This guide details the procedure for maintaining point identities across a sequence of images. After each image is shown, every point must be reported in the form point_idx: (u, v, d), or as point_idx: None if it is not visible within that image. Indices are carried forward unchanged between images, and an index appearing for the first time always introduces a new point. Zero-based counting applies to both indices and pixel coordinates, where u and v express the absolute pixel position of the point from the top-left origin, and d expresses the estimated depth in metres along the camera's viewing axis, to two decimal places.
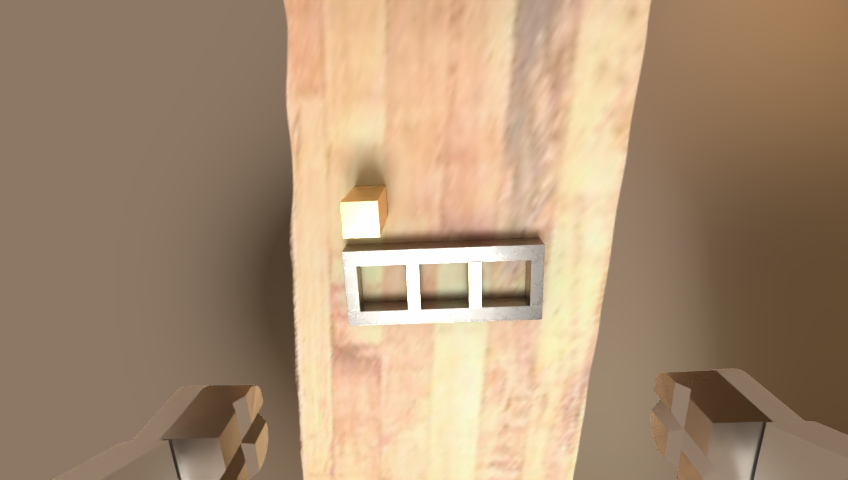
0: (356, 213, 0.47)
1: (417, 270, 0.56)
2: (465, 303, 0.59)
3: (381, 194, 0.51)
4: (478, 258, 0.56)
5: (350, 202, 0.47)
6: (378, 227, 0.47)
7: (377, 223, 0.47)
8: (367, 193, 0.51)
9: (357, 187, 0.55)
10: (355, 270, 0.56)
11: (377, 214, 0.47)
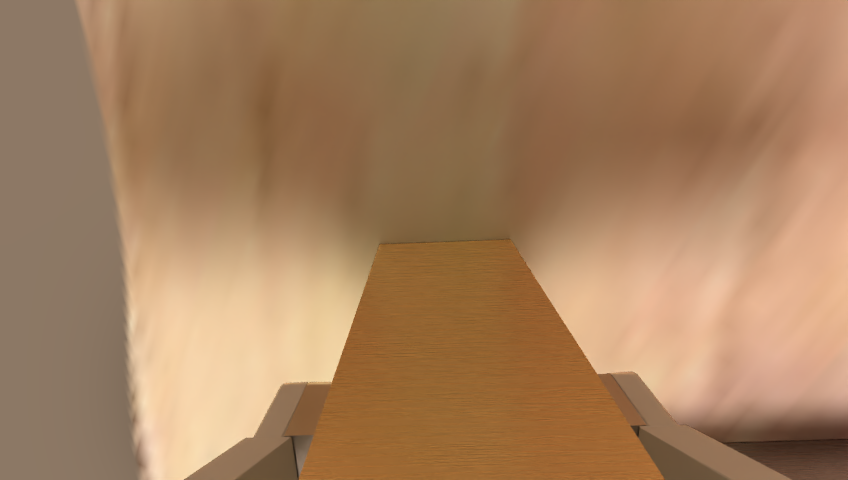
0: None
1: None
2: None
3: None
4: None
5: None
6: None
7: None
8: (473, 323, 0.08)
9: (393, 253, 0.12)
10: None
11: None
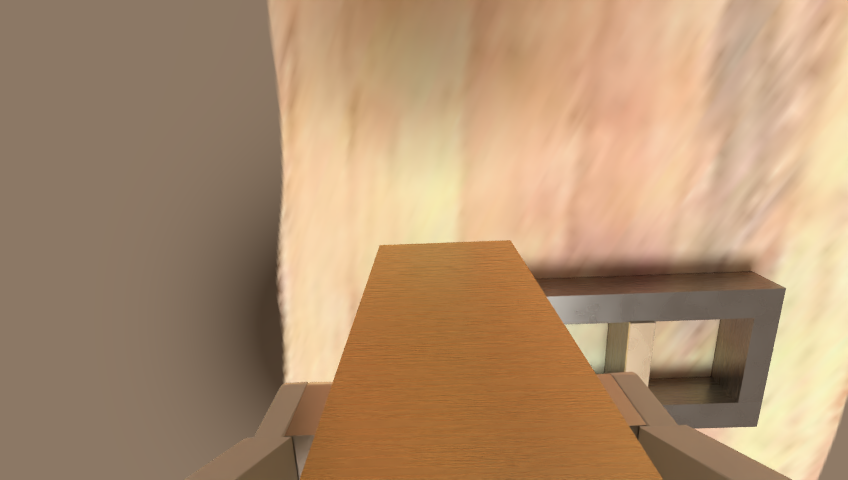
0: None
1: None
2: None
3: None
4: (649, 314, 0.28)
5: None
6: None
7: None
8: (473, 325, 0.08)
9: (393, 254, 0.12)
10: None
11: None
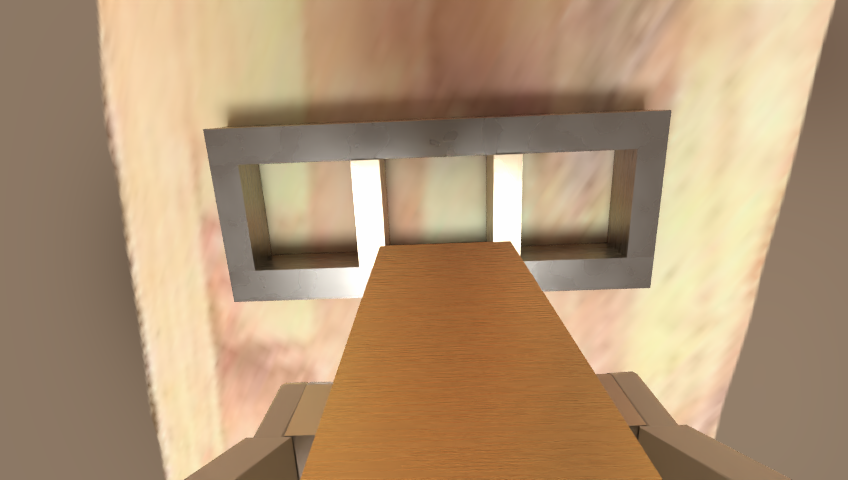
0: None
1: (376, 173, 0.25)
2: None
3: None
4: (516, 145, 0.24)
5: None
6: None
7: None
8: (473, 326, 0.08)
9: (393, 255, 0.12)
10: (237, 174, 0.25)
11: None
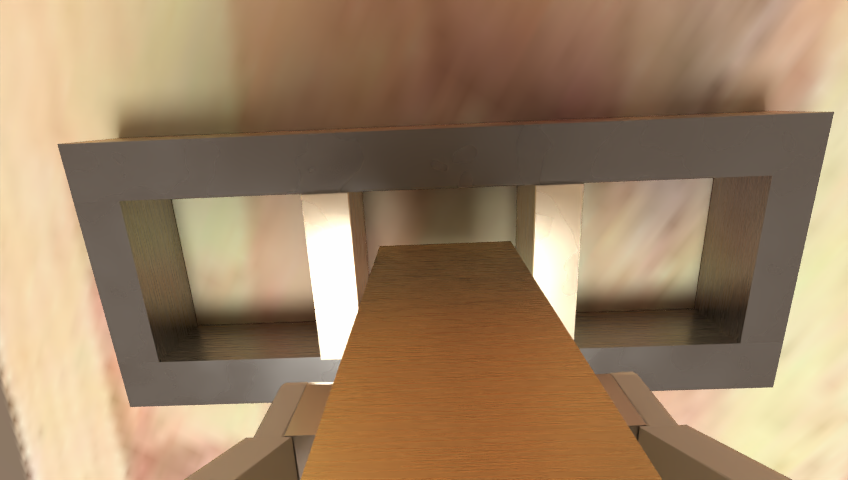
0: None
1: (344, 215, 0.15)
2: None
3: None
4: (572, 169, 0.15)
5: None
6: None
7: None
8: (473, 326, 0.08)
9: (393, 255, 0.12)
10: (119, 216, 0.15)
11: None
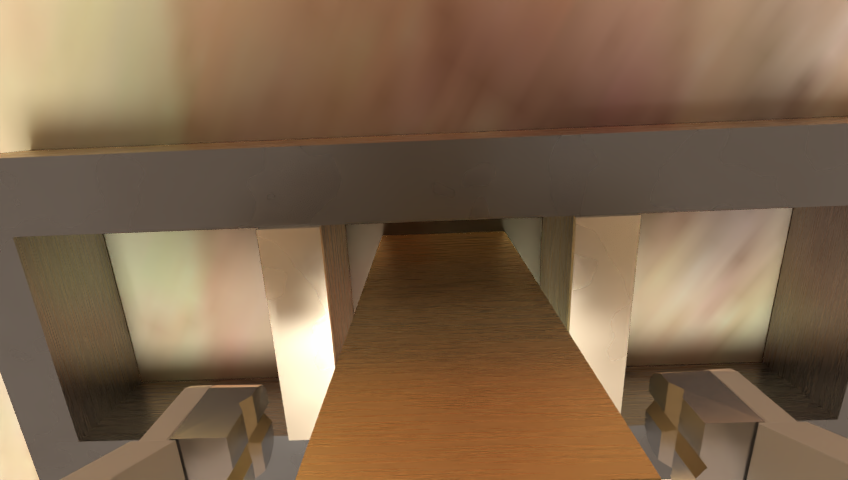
0: None
1: (316, 257, 0.11)
2: None
3: None
4: (625, 195, 0.11)
5: None
6: None
7: None
8: (467, 301, 0.09)
9: (395, 243, 0.13)
10: (14, 257, 0.11)
11: None
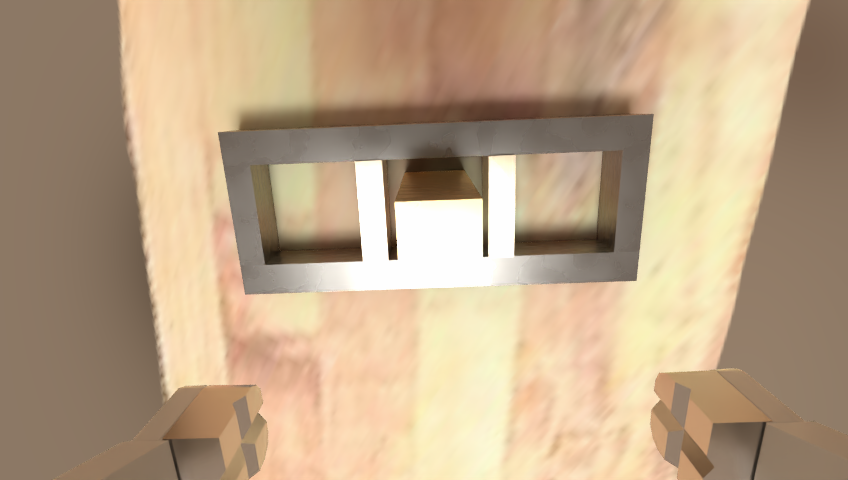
0: (432, 228, 0.20)
1: (379, 173, 0.26)
2: None
3: None
4: (509, 146, 0.26)
5: (418, 203, 0.20)
6: (480, 259, 0.21)
7: (479, 250, 0.21)
8: (442, 183, 0.24)
9: (411, 173, 0.29)
10: (249, 174, 0.27)
11: (480, 229, 0.20)
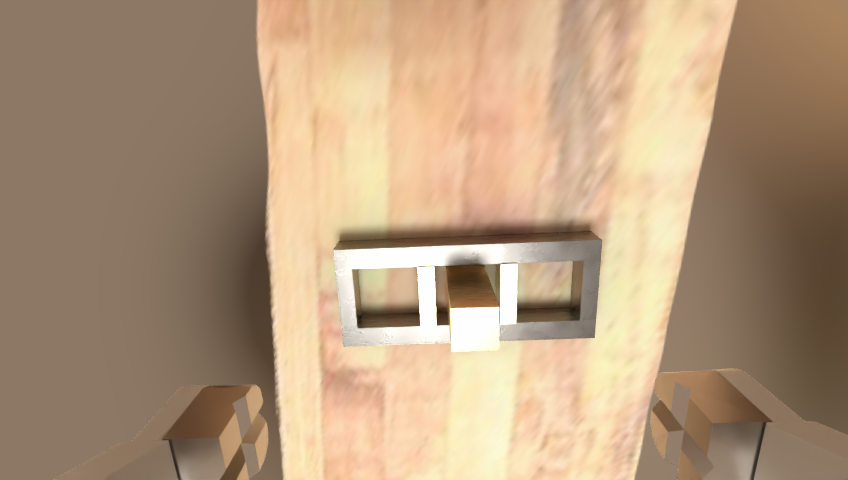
0: (470, 322, 0.36)
1: (432, 274, 0.42)
2: None
3: (491, 287, 0.40)
4: (513, 258, 0.42)
5: (463, 309, 0.36)
6: (497, 338, 0.37)
7: (497, 333, 0.37)
8: (473, 285, 0.40)
9: (450, 269, 0.45)
10: (351, 274, 0.43)
11: (497, 323, 0.36)
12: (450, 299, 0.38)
